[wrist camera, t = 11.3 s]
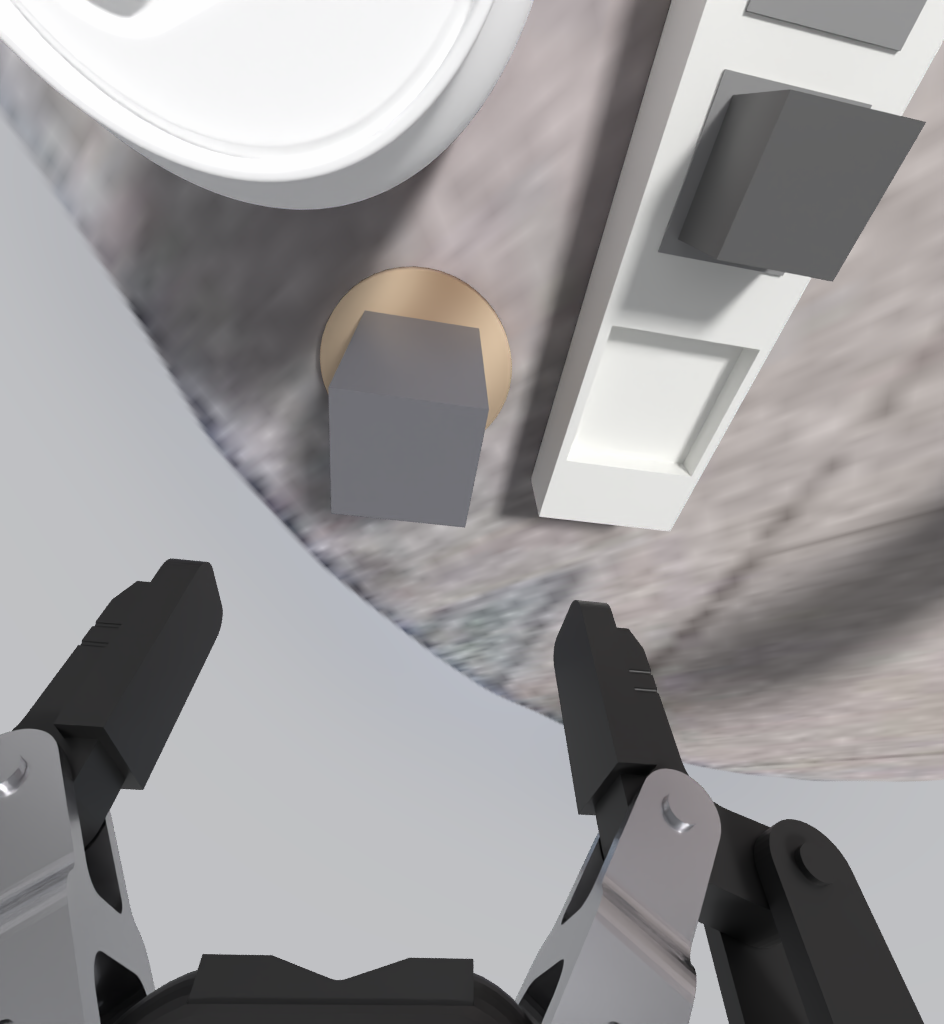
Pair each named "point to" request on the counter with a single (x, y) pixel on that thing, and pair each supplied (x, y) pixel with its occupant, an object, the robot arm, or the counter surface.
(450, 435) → the block
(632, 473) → the power strip
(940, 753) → the counter surface
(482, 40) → the beverage can
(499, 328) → the coaster
